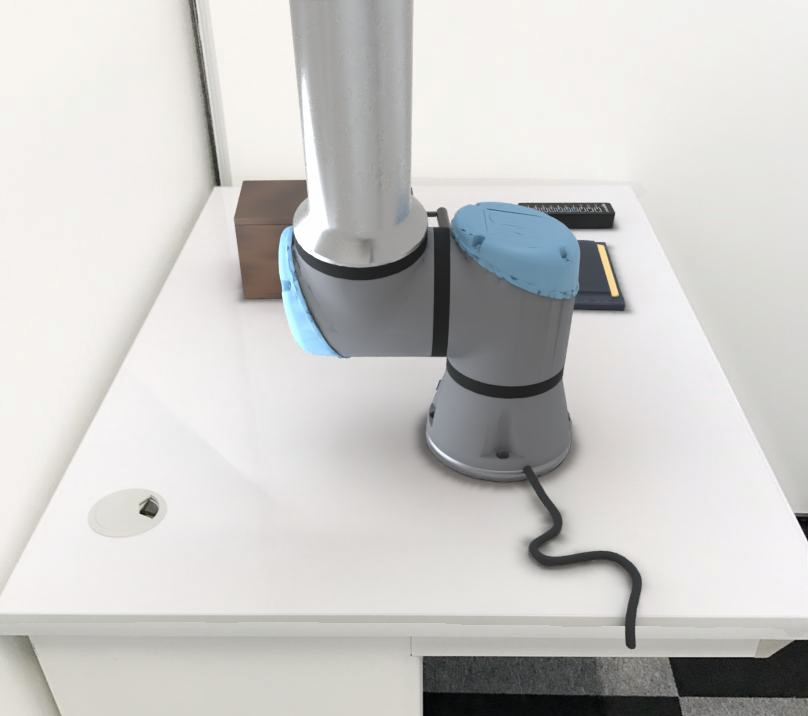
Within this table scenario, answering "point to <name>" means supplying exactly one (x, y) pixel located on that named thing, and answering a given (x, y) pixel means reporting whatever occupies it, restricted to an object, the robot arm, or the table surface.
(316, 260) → the robot arm
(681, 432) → the table surface
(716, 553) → the table surface
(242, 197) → the brown wooden box
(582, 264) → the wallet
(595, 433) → the table surface
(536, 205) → the multiport hub
